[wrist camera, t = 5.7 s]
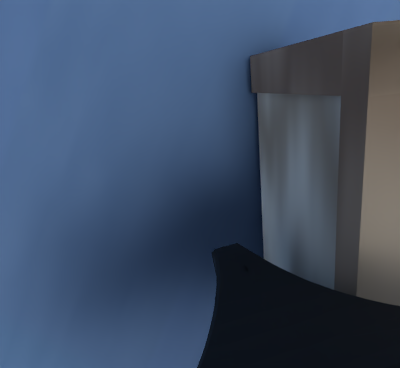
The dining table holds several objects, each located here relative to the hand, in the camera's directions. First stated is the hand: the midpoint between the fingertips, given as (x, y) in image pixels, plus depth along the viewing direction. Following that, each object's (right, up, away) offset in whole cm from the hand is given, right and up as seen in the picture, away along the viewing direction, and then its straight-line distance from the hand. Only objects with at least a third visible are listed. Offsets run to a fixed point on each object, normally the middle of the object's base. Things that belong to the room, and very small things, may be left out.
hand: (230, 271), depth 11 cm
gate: (+2, -1, +3) cm, 4 cm away
